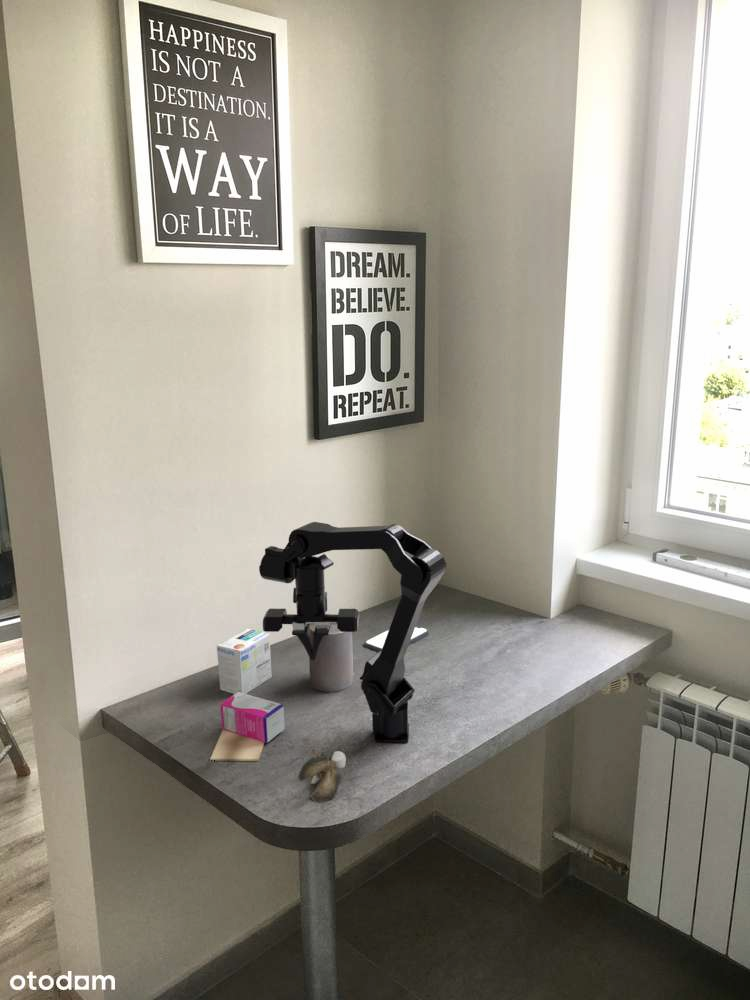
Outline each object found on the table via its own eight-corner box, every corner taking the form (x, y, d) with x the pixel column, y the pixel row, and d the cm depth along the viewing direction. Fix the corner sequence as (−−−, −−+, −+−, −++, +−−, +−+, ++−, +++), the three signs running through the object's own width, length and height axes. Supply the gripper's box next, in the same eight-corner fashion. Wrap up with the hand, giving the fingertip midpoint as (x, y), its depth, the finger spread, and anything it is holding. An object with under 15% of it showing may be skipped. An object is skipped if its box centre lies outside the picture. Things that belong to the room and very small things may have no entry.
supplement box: (285, 731, 165) (239, 715, 170) (284, 704, 163) (238, 689, 169) (267, 745, 160) (220, 729, 166) (265, 717, 158) (219, 702, 164)
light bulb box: (249, 671, 192) (247, 627, 189) (273, 677, 188) (270, 632, 186) (218, 690, 183) (215, 644, 180) (242, 697, 179) (239, 650, 177)
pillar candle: (300, 682, 185) (298, 620, 181) (332, 667, 192) (330, 607, 188) (331, 697, 179) (329, 632, 175) (362, 681, 186) (361, 618, 182)
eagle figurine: (299, 765, 151) (287, 785, 142) (321, 734, 150) (310, 752, 142) (334, 790, 151) (324, 811, 142) (356, 759, 150) (347, 778, 141)
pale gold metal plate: (271, 722, 169) (271, 720, 168) (258, 761, 155) (258, 759, 155) (227, 722, 169) (226, 720, 169) (210, 760, 155) (210, 758, 155)
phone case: (389, 658, 198) (431, 635, 209) (388, 651, 198) (431, 629, 209) (361, 648, 204) (404, 627, 215) (361, 642, 204) (404, 621, 215)
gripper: (360, 572, 172) (361, 643, 176) (270, 572, 173) (274, 642, 177) (356, 592, 162) (358, 666, 165) (260, 592, 163) (264, 665, 166)
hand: (313, 659), depth 169 cm, fingers closed
